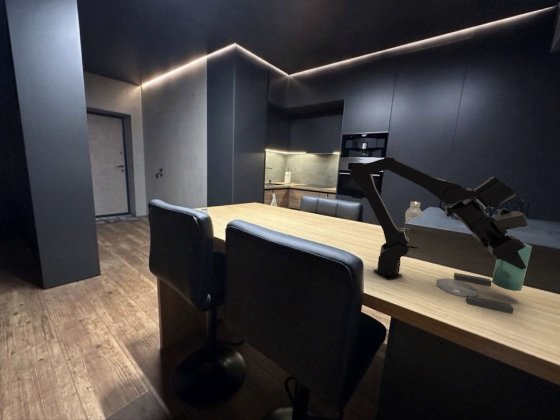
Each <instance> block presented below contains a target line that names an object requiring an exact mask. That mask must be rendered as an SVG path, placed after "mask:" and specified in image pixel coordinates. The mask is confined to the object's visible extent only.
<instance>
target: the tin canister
mask: <svg viewBox="0 0 560 420" xmlns="http://www.w3.org/2000/svg"><path fill="white" fill-rule="evenodd" d="M522 243H523V244H524V245H525V247H524V248H523V249H521V250H519V251H518V253H519V255H520V257H521V258H522V260H523V262H524V264H525V266H526V268H525V269H523V270H522V269H519V268H517V267H515V266H513V265H511V264H509V263H507V262H505V261H503V260H501V259H499V260H498V259H495V265H494V269H493V275H492V279H491V281H492V283H491V284H493V285H495V286H496V287H498V288H502V289H504V290H509V291H512V292H513V291H514V292H521V291H522V290H523V287H524V281H525V277H526V274H527V273H526V272H527V268H528V264H529V262H530V261H529V260H530V258H531V257H530V256H531V253H532V249H533V247H532V245H530V244H528V243H524V242H522Z"/></svg>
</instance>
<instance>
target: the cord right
mask: <svg viewBox="0 0 560 420" xmlns="http://www.w3.org/2000/svg"><path fill="white" fill-rule="evenodd" d="M465 301H466V304H467V305H471V306H476V307H480V308H485V309H490V310H494V311H497V312H498V311H499V312H501V313H502V312H503V313H509V314H513V312H514V307H513V306H512V304H511V303H507V302H502V301H497V300H492V299H487V298H483V297H478V296H476V297H474V296H469V295H467V296H466V297H465Z"/></svg>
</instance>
